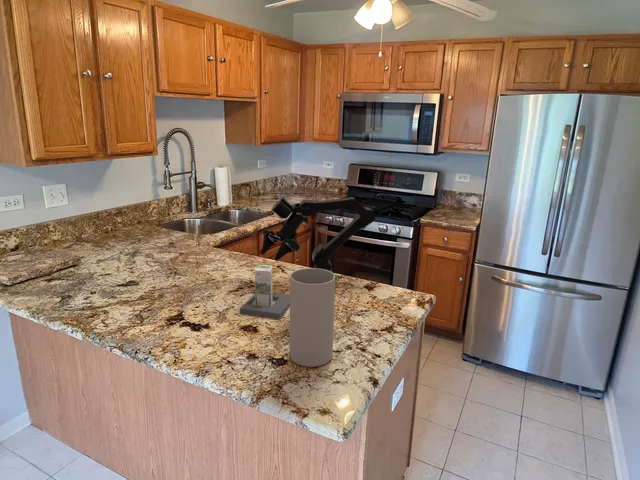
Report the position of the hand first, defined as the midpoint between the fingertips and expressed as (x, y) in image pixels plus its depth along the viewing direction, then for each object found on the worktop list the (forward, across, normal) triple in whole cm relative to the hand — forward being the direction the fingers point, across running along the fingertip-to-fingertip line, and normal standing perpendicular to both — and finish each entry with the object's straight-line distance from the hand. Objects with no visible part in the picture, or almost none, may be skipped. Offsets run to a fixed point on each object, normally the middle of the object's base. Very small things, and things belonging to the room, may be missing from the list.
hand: (268, 257), depth 167 cm
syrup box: (+16, -11, -3) cm, 20 cm away
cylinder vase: (+23, -49, +3) cm, 54 cm away
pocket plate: (+16, -13, -3) cm, 21 cm away
